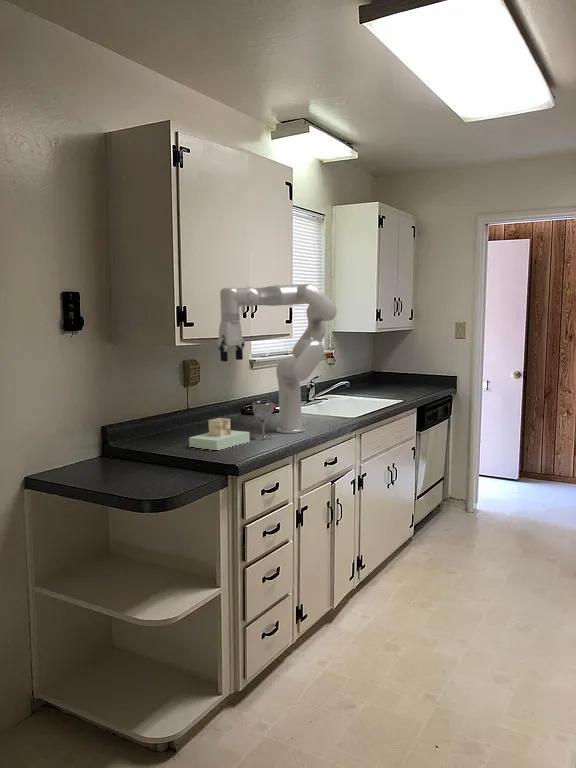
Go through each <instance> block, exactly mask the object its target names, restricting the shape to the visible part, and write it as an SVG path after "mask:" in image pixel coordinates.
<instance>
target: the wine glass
mask: <svg viewBox="0 0 576 768" xmlns="http://www.w3.org/2000/svg"><path fill="white" fill-rule="evenodd" d="M252 410H253V414H254V417H255V418H256V420H257V421H258V422H259V423H260V425H261V432H262V436H258V437H255V438H254V440H255V439H256V441H267V440H266V439H271V438H272V437H271V438H270V436H266V434H265V426H266V423H267V422H268V420H270V418H271V416H272V414H273V413H272V412H273V401H270V400H269V401H267V400H264V401H262V400H260V401H254V402H252ZM271 440H272V439H271Z"/></svg>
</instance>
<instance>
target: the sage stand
mask: <svg viewBox="0 0 576 768" xmlns="http://www.w3.org/2000/svg"><path fill="white" fill-rule="evenodd" d="M247 442H248V443H250V442H251V437H250V431H244V430H243V431H241V430H233V429H231V434H229V435H225V436H221V437H219V436H210V435H209V432H206V433H202V434H199V435H194V436H190V437H188V443H189V448H190V447H195V448H202V449H201V450H203V449H209V450H208V451H211V450H220V451H222V450H221V449H223V450H226V449H225V448H227V449H229V448H228V447H230V448H233V447H232V446H234V447H236V446H235V445H237V446H240V445H239V444H241V445H244V444H247ZM243 443H244V444H243ZM195 448H194V449H195Z"/></svg>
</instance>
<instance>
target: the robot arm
mask: <svg viewBox="0 0 576 768" xmlns="http://www.w3.org/2000/svg"><path fill="white" fill-rule="evenodd" d="M219 292H220V293H219V294H220V296H219V297H220V298H219V300H220V321H221V322H219V328H218V329H219V330H218V339H217V340H216V342H215V343H216V345H217V348H218V351H219V352H220V362H228V351H227V350H228V348H229V347H235V359H236V360H239V361H242V360H243V359H244V357H243V356H244V355H243V350H244V347H245V343H246V338H244V337H243V334H242V326H241V319H240V315H241V314H240V307H252V306H266V307H267V306H270V307H274V306H275V307H277V306H278V307H279V306H293V305H295V306H297V305H308V306H307V308H306V317H307V327H306V329H305V330H304V332H303V334H301V337H299V339H298V340H297V342H296V343H295V344H294V346H293V348H292V356H293V357H294V358H283V359H281V360H280V361H279V362H278V363H277V365H276V370H275V371H276V379H277V383H278V384H277V386H278V406H279V407H278V408H279V412H278V413H279V414H278V415H279V426H278V427H277V428H276V432H278V433H283V434H298V433H302V432H305V431H306V427H305V426H303V425H305V424H306V423H307V420H306V419H305V418H304V419H302V392H301V391H302V389H301V385H300V382H301V383H302V382H304V381H306V380H308V378H310V376H311V375H312V373H314V371H315V370H316V368H317V366H318V365H319V364H320V362H321V361H322V359H323V357H324V353H325V349H324V345H323V343H322V341H323V340H324V338H325V335H326V331H327V330H326V322H330V321H332V320H334V319H335V317H336V316H337V313H338V311H337V309H338V308H337V306H336V305H335V303H334V302H333V301H332V300H331V299H330V298H329V297H328V296H327V295H326V294H325V293H324V292H323V291H322V290H321V289H320V288H319V287H318V286H316V285H315V284H313V283H302V284H287V285H286V284H281V285H280V284H277V285H276V284H275V285H269V286H263V287H251V286H248V287H240V288H237V287H236V288H235V287H223V288H221V290H220V291H219Z"/></svg>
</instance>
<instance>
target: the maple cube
mask: <svg viewBox="0 0 576 768" xmlns="http://www.w3.org/2000/svg"><path fill="white" fill-rule="evenodd" d="M207 422H208V433H209V435H210V436H219V437H221V436H225V435H229V434H231V430H232V429H231V418H221V417H217V418H212V419H208V421H207Z"/></svg>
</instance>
